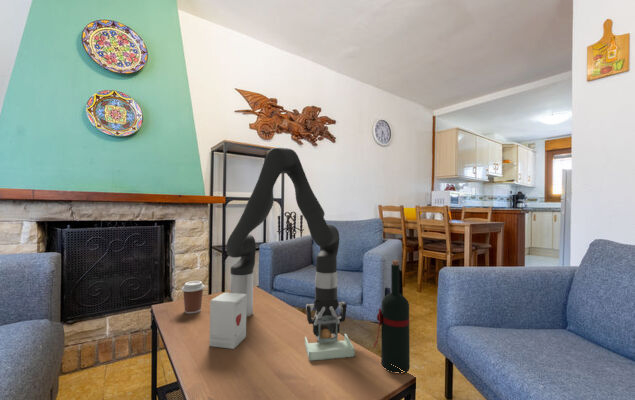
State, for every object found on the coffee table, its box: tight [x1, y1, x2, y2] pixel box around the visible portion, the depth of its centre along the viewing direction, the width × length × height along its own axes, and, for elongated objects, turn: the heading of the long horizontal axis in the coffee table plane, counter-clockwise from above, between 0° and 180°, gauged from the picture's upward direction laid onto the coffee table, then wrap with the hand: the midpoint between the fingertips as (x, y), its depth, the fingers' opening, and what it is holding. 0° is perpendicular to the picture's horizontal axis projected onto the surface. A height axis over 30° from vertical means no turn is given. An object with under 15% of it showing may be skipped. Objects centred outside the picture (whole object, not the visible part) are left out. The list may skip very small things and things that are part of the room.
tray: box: [304, 333, 356, 362], centre depth 89 cm, size 10×14×2 cm
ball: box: [320, 329, 332, 339], centre depth 95 cm, size 4×4×4 cm
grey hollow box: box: [315, 315, 338, 343], centre depth 95 cm, size 6×6×7 cm
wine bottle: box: [373, 259, 411, 373], centre depth 81 cm, size 8×10×30 cm
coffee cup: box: [181, 280, 206, 314], centre depth 122 cm, size 9×9×12 cm
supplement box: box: [208, 292, 247, 350], centre depth 95 cm, size 9×9×15 cm
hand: (326, 334), depth 95 cm, fingers closed on grey hollow box, 6 cm apart
